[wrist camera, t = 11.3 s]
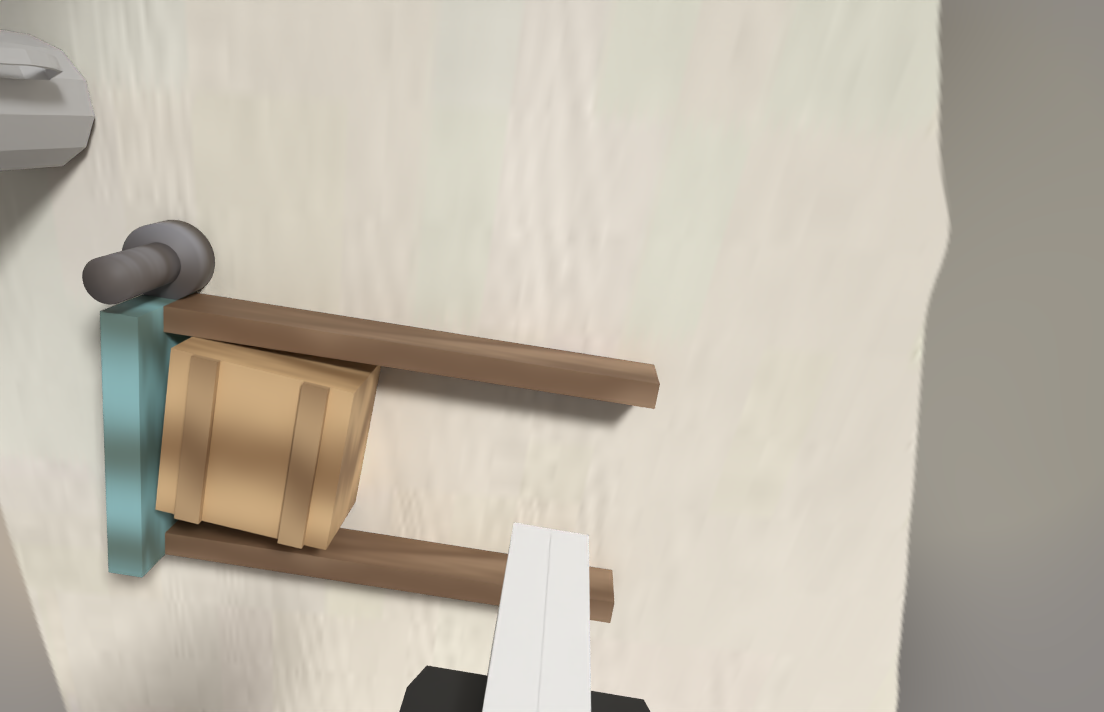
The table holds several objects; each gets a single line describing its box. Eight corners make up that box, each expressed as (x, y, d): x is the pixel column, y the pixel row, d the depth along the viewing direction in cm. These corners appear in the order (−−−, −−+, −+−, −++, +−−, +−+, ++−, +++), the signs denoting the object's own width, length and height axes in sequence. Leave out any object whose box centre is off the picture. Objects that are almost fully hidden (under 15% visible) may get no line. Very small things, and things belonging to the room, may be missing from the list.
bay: (140, 214, 43) (60, 231, 37) (667, 297, 44) (683, 329, 37) (145, 517, 50) (77, 578, 43) (608, 589, 50) (612, 661, 43)
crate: (223, 320, 45) (167, 350, 39) (382, 359, 46) (351, 395, 40) (206, 464, 48) (151, 513, 42) (356, 500, 49) (323, 554, 43)
